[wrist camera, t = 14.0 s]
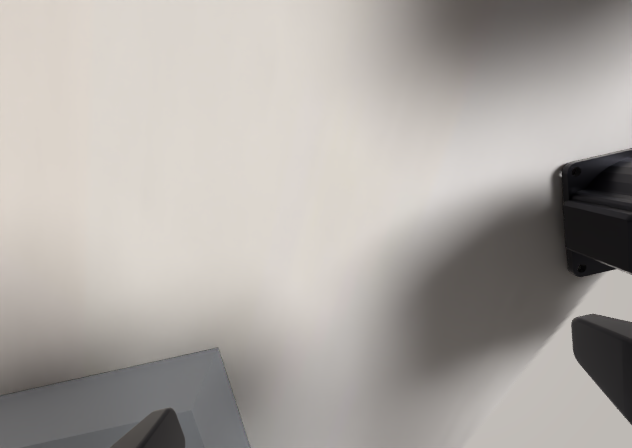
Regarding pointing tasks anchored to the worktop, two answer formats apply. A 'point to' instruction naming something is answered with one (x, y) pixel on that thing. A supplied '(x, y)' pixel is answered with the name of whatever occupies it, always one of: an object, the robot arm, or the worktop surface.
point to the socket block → (127, 406)
